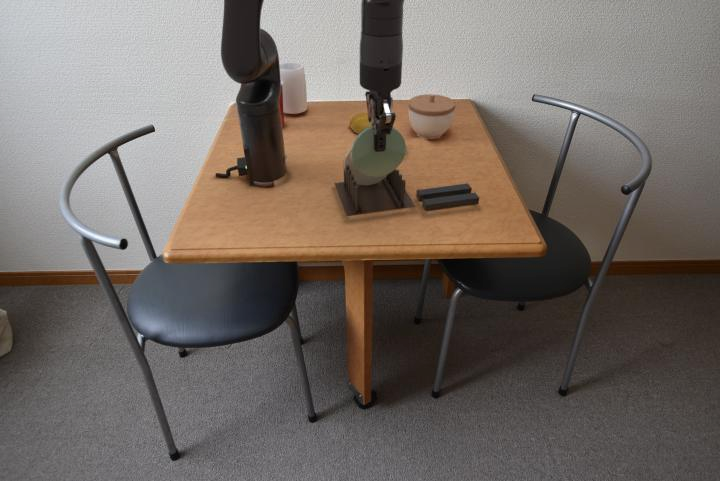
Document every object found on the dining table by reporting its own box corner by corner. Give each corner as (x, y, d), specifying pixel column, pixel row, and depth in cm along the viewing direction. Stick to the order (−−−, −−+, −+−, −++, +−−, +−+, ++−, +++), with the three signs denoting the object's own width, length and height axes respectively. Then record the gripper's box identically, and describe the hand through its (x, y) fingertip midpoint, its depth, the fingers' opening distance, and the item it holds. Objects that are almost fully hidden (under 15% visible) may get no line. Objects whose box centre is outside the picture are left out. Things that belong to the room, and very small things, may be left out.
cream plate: (345, 188, 107) (343, 143, 101) (344, 186, 108) (342, 141, 101) (392, 182, 109) (393, 138, 102) (390, 180, 110) (392, 136, 103)
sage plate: (352, 179, 96) (351, 128, 89) (351, 177, 97) (350, 126, 90) (404, 173, 98) (407, 123, 91) (402, 171, 99) (406, 121, 92)
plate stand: (424, 216, 100) (426, 204, 99) (415, 201, 105) (416, 190, 103) (477, 209, 102) (479, 197, 101) (466, 194, 107) (467, 183, 106)
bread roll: (356, 137, 132) (356, 123, 130) (346, 125, 139) (345, 112, 136) (384, 132, 134) (384, 119, 132) (372, 121, 141) (372, 108, 139)
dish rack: (346, 222, 99) (345, 191, 95) (334, 188, 110) (332, 159, 106) (415, 212, 102) (417, 182, 97) (396, 180, 113) (397, 152, 108)
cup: (292, 120, 142) (288, 72, 133) (275, 113, 147) (269, 66, 138) (314, 112, 147) (310, 65, 138) (296, 105, 152) (292, 59, 143)
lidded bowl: (410, 144, 128) (412, 104, 121) (403, 125, 138) (405, 88, 132) (456, 142, 129) (461, 103, 122) (446, 124, 139) (450, 86, 132)
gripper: (351, 49, 88) (352, 136, 98) (369, 72, 77) (368, 167, 88) (390, 46, 89) (387, 133, 100) (413, 69, 79) (407, 162, 89)
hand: (378, 148), depth 94 cm, fingers closed on sage plate, 1 cm apart
